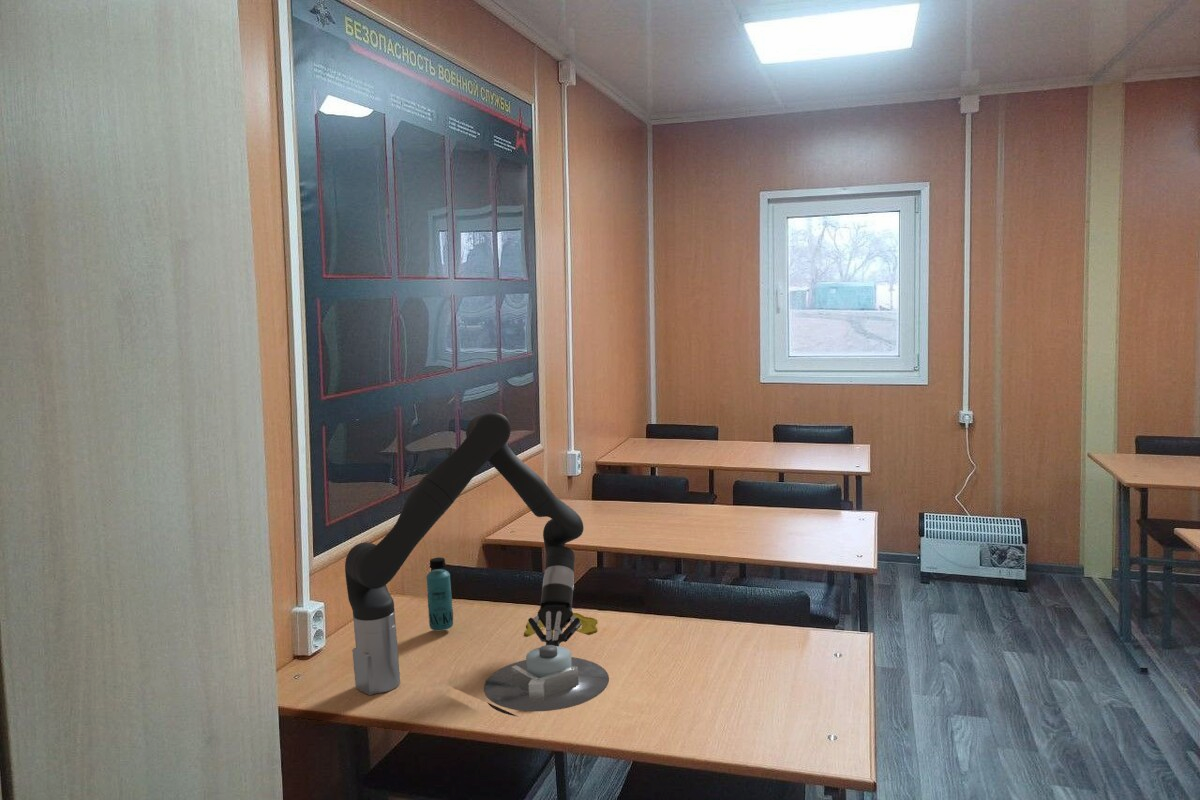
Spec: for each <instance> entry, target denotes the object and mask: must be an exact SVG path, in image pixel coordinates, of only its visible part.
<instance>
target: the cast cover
mask: <svg viewBox="0 0 1200 800" xmlns="http://www.w3.org/2000/svg"><path fill="white" fill-rule="evenodd" d="M571 657H572V652H571V651H570V649H568V648H566V647H563V646H560V645H559V646H554V645H546V644H545V645H542V646H540V647H537V648H534V649H532V650H530V651H529V652H528V653H526V655H525V660H526V662H527V672H529V673H531V674H532V675H534V676H536V677H537V678H541V677H544V676H547V675H550V674H553V673H556V672H558V671H561V670H564V669H567V668H570V667H572V665H571Z"/></svg>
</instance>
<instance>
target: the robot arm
mask: <svg viewBox="0 0 1200 800" xmlns="http://www.w3.org/2000/svg"><path fill="white" fill-rule="evenodd" d="M511 431H512V430H511V424H510V421H509V419H508V417H506V416H505V415H504V414H502V413H499V412H492V411H491V412H486V413H483V414H481V415H480V414H479V415H477V416H475V417H473V418H472V419H470V420H469V422H468V424H467V425H466V428H465V436H466V437H465V439H464V441H462V443H461V444H460V445H459V446H458V447H457V448H456V450H454V451H453V452H452V453H450V454H449V455H448V456H447V457H446V458H444V459H443V460H442V461H440V462H439V463H438V464H436V466H434V467H433V468H432V469H431V470H430V471H428V473H426V474H425V476H423V477H422V479H421V480H420V481H419V482H418V483H417V485H415V486H414V488H413V489H412V490H411V491H410V493H409V494H408V495H407V497H406V499H405V501H404V503H403V506H402V508H401V511H400V514H399V516H398V518H397V520H396V522H395V523H394V526H393V527H392V528H391V529H390V531H388V533H387V534H386V535H384V537H383V538H382V539H381V540H380V541H379V542H378V543H377V544H375V543H372V542H361V543H357V544H356V545H354V546H353V547H352V548H351V549H350V550H349V552H348V553H347V555H346V558H345V561H344V563H345V564H344V572H345V582H346V589H347V597H348V603H349V604H350V607H351V610H352V617H353V618H352V619H353V629H354V640H355V647H353V648H352V650H351V651H352V661H353V672H354V682H355V683H354V685H355V690H356V689H357V690H358V691H360V692H362V693H364V694H366V695H368V696H372V695H374V694H382V693H386V692H389V691H392V690H394V689H396V688H397V687H399V685H400V684H401V676H400V675H401V672H400V661H399V650H398V649H399V648H398V637H397V624H396V623H397V621H396V613H395V612H396V611H395V601H394V598H393V597H392V595H391V594H390V591H389V590H388V587H387V585H388V584H389V582H390V581H392V580H393V578H394V577H395V576H396V574H397V573H398V572H399V571H400V569H401V567H402V566H403V565H404V563H405V562H406V561H407V558H408V557H410V554H411V553H412V551H413V550H414V549H415V547H416V546H417V545H418V544H419V543H420V541H421V540H423V538H424V537H425V536H426V535H427V533H428V532H429V531H430V530H431V529H432V528H433V527H434V525H435V524H436V522H438V520H439V519H441V517H442V516H444V514H445V513H446V512H447V511H448V509H449V508H450V507H451V506H452V504H454V502H455V501H456V500H457V499H458V497H459V496H460V495H461V494H462V492H463V491H464V490H465V489H466V487H467V486H468V485H469V484H470V482H471V481H472V479H473V478H474V477H475V476H476V474H477V473H478V472H479V470H480V469H481V468H482V467H484V465H485V464H486V463H487V462H489V464H490V465H492V466H493V467H494V469H495V470H497V472H498V473H499V474H500V475H501V476H502V478H504V480H506V482H507V483H508V484H509V485H510V486H511V487H512V489H513V490H514V491H515V492H516V493H517V495H518V496H519V497H520V498H521V500H522V501H523V502H524V504H525V505H526V506H527V507H528V509H529V510H530V511H531V512H532V514H533V515H534V516H536V517H537V518H545V517H547V518H550V519H549V520H548V521H547V522H545V525H544V527H543V530H542V531H543V532H542V536H543V537H542V538H543V542H544V549H545V554H546V560H545V570H544V575H543V579H542V589H541V597H540V607H539V610H538V612H537V615H535V616H534V617H529V618H528V622H529V624H530V626H531V627H532V629H533V630H534V631H535V634H536V635H537V637H538V638H539V640H540V641H541V642H542V643H545V645H554V646H559V647H560V644H561V643H563V642H564V643H566V642H567V641H568V640H570V638H571V637H572V636H573V635H574V634H575V633H576V632H577V631H576V630H577V629H578V630H579V629H580V628H581V627H582V625H581V622H580V619H579V618H576V617H574V616H573V613H574V612H573V610H572V609H573V599H574V590H575V585H574V584H575V580H574V579H575V576H574V575H575V574H574V573H575V562H576V561H575V560H576V559H575V557H576V556H575V555H576V554H575V552H574V551H573V549H572V548H570V547H568V546H566V544H567V543H570V542H571V541H574V540H576V539H579V537H581V536H582V535H583V532H584V522H583V520H582V517H581V516H580V515H579V514H578V513H577V512H576V511H575V510H574V509H573V508H572V507H570V506H569V505H568V504H567V503H566V502H563V501H562V500H561V499H560V498H558V497H557V496H556V495H555V493H554V492H553V491H552V489H550V487H549V486H548V485H547V483H546V482H545V481H544V480H543V479H542V477H541V476H540V475H538V473H536V471H534V470H533V469H532V468H531V467H530V466H528V465H527V464H526V463H525V462H524V461H522V460H521V459H520V458H519V457H518V456H517V455H516V454H515V453H514V451H513V450H512V449H511V448H510V446H509V445H508V444H507V442H508V440H510V437H511ZM539 620H540V621H541V622H542V624H543V625H544V627H545V628H544V627H543V628H544V629H545V634H544V632H543V631H541V630H540V629H541V628H539V627H538V626H539V625H540V623H539ZM570 620H571V621H570ZM568 624H569V625H568ZM565 626H566V627H565ZM579 627H580V628H579ZM563 629H565V630H564V631H563Z"/></svg>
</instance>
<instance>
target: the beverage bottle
mask: <svg viewBox="0 0 1200 800" xmlns="http://www.w3.org/2000/svg"><path fill="white" fill-rule="evenodd" d="M445 567H446V560H445V558H444V557H433V558H431V559H430V560H429V568H430V569H432V570H430V571H429V572H428V574H426V577H425V578H426V587H427V602H426V603H427V608H428V617H427V618H428V624H429V628H430V629H431V630H433V631H446V630H448V629H451V628H452V627H453V626H454V621H455V620H454V608H453V598H452V597H453V595H452V588H451V587H452V584H451V583H452V582H451V573H450V572H449V571H448V570H446V569H444V568H445Z"/></svg>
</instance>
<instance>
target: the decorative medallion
mask: <svg viewBox="0 0 1200 800" xmlns="http://www.w3.org/2000/svg"><path fill="white" fill-rule="evenodd" d="M573 616H574V617H576V618H579V619H580V622H581V626H580V627H579V628H578V629H577V630H576V631H575V632H578V633H581V634H584V635H587V636H590V635H593V634H596V633H598V628H597V625H598V623H599V622H598V619H597V618H594V617H591V616H584V615H582V614H581V613H578V612H573ZM570 621H571V620H570ZM539 623H540V625H539V626H538V627H539V628H540V630H541V631H542V632H543V631H544V629H546V628H545V627H544V625H543V624H542V622H541V621H540V620H539ZM525 627H526V630H524V633H523V636H524V637H526V638H527V637H530V636H532V635H535V634H536V633H535V631H534V630H533V629H532V627H531V626H530V624H529V621H528V622H527V623H526V626H525ZM565 628H567V625H566V626H565Z"/></svg>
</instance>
